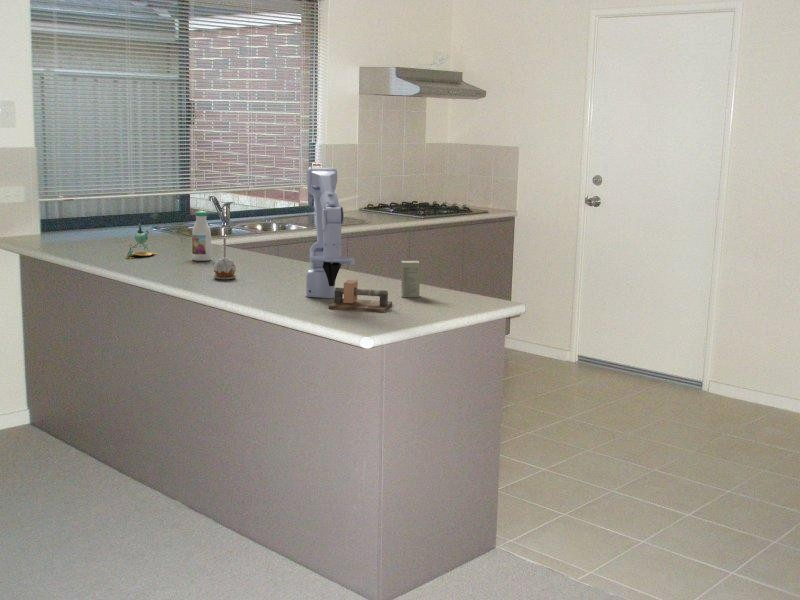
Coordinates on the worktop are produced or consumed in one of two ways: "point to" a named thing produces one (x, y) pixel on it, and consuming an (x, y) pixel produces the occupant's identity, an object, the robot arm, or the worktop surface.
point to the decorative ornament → (224, 267)
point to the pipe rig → (362, 301)
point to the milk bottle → (201, 238)
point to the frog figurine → (140, 239)
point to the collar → (350, 291)
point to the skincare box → (410, 278)
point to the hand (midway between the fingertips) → (331, 285)
